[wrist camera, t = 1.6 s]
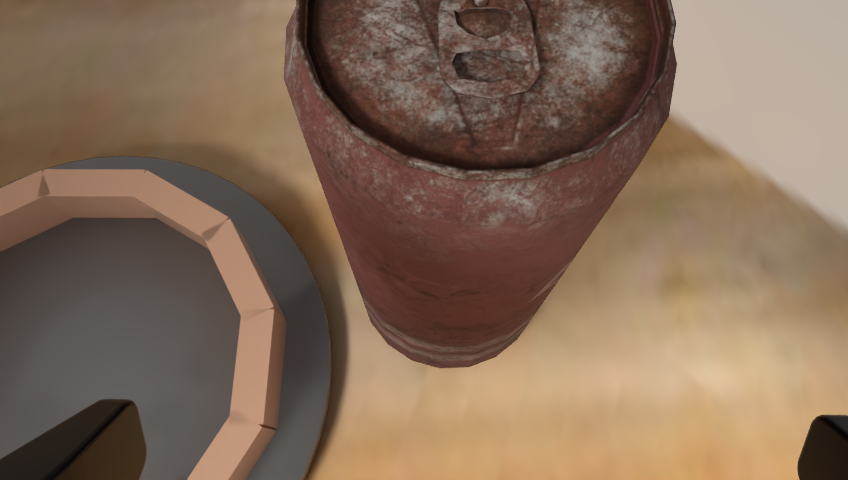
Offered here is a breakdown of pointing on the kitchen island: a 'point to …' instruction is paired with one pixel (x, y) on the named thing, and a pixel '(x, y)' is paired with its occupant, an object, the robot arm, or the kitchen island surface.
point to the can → (473, 149)
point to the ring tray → (161, 317)
